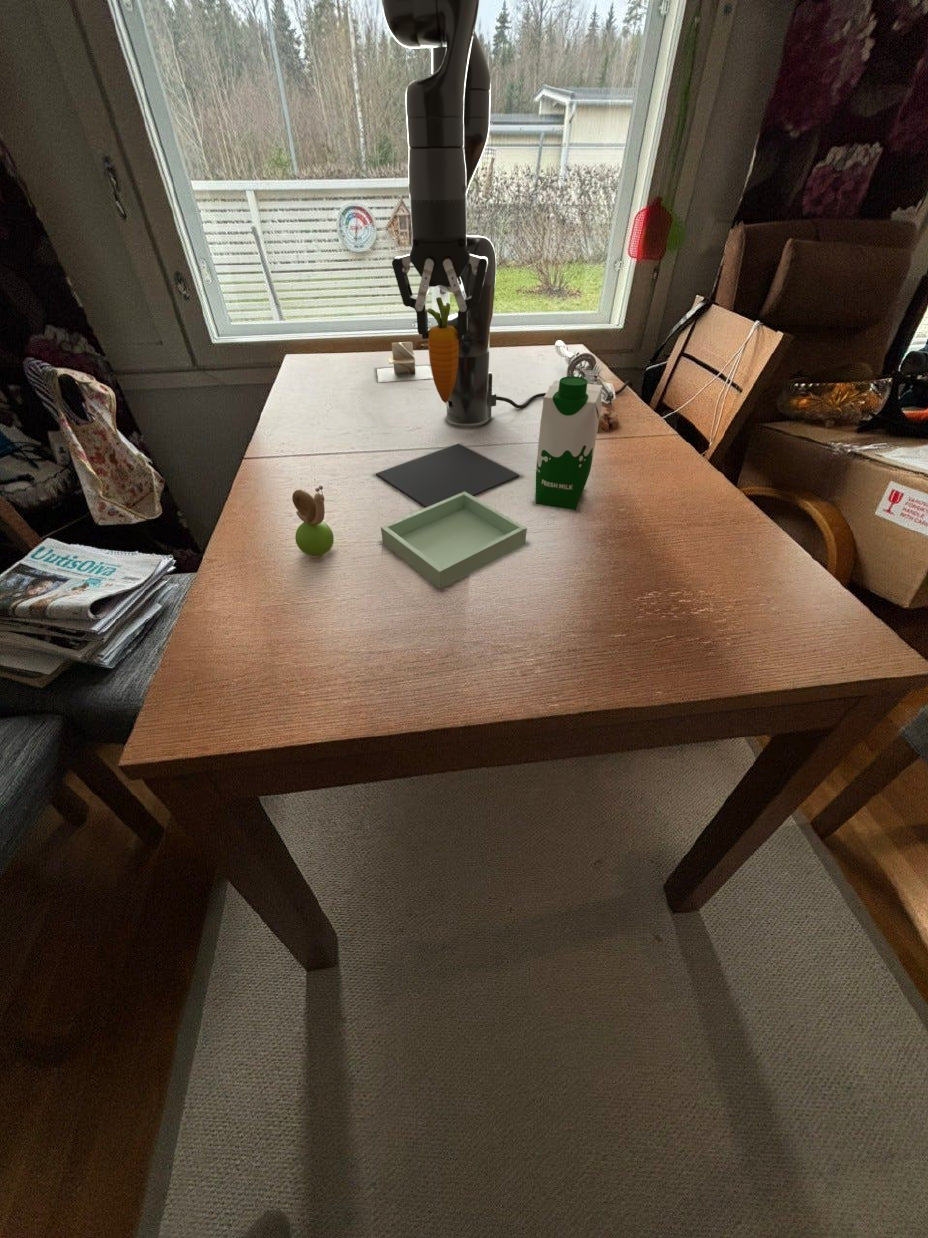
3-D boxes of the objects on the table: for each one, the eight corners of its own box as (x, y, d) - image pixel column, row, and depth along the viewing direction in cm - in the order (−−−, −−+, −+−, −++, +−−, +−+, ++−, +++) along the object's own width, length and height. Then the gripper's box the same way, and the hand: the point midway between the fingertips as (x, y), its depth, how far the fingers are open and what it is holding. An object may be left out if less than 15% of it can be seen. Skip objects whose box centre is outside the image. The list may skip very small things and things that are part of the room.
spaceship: (574, 332, 137) (550, 322, 133) (634, 389, 114) (608, 378, 111) (559, 361, 142) (536, 352, 138) (614, 421, 119) (588, 412, 116)
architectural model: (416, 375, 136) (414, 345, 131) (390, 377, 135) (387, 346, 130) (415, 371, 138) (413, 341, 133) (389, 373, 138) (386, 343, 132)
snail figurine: (323, 570, 73) (305, 496, 65) (292, 556, 76) (270, 483, 67) (349, 551, 76) (334, 478, 68) (318, 539, 79) (300, 467, 71)
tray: (464, 507, 86) (464, 491, 84) (525, 544, 77) (526, 527, 75) (382, 543, 78) (380, 526, 76) (440, 589, 70) (439, 571, 68)
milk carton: (529, 506, 86) (540, 382, 72) (540, 481, 92) (552, 363, 78) (580, 514, 83) (602, 389, 70) (589, 489, 90) (610, 369, 76)
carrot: (456, 408, 83) (454, 303, 72) (427, 406, 83) (421, 301, 73) (462, 397, 86) (461, 295, 76) (434, 396, 87) (429, 294, 77)
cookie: (582, 411, 116) (584, 397, 114) (625, 421, 112) (628, 407, 110) (562, 425, 111) (564, 411, 108) (607, 436, 106) (610, 422, 104)
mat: (458, 445, 104) (458, 443, 103) (519, 476, 93) (519, 474, 93) (376, 475, 94) (375, 473, 94) (434, 513, 84) (433, 511, 84)
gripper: (493, 192, 69) (490, 332, 80) (390, 193, 70) (401, 330, 81) (490, 196, 63) (487, 345, 75) (378, 197, 64) (392, 344, 76)
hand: (442, 337), depth 78 cm, fingers closed on carrot, 5 cm apart
